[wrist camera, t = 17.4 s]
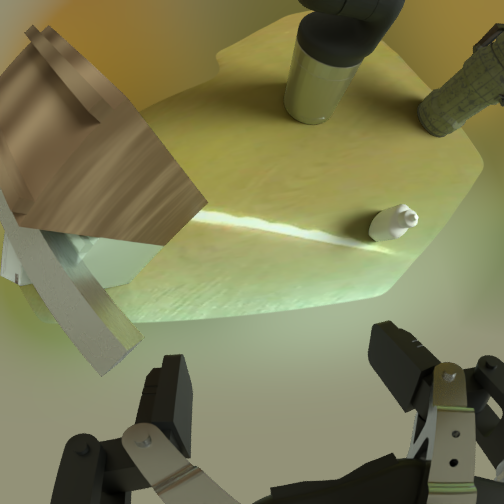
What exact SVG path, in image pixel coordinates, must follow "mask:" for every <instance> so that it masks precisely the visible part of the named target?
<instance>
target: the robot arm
mask: <svg viewBox="0 0 504 504" xmlns="http://www.w3.org/2000/svg"><path fill="white" fill-rule="evenodd" d="M298 1H299V2H300V3H301V4H302V5H303V6H304V7H306V8H308V9H310V10H313V11H315V12H312V13H310V14H308V15H306V16H305V17H304V18H303V19H302V20H301V22H300V24H299V28H298V32H297V37H296V42H295V47H294V52H293V57H292V62H291V66H290V71H289V76H288V81H287V85H286V90H285V95H284V105H285V108H286V110H287V112H288V113H289V114H290V115H291V116H292V117H293V118H294V119H296V120H298V121H300V122H302V123H305V124H320V123H323V122H325V121H327V120H328V119H329V118H330V117H331V115H332V114H333V112H334V110H335V108H336V107H337V105H338V103H339V102H340V100H341V98H342V96H343V95H344V93H345V91H346V89H347V87H348V86H349V84H350V82H351V80H352V79H353V77H354V75H355V73H356V72H357V70H358V68H359V66H360V64H361V63H362V61H363V59H364V57H366V56H368V55H370V54H371V53H372V52H373V51H374V49H375V48H376V46H377V45H378V43H379V42H380V41H381V39H382V38H383V36H384V35H385V34H386V32H387V31H388V29H389V28H390V27H391V25H392V24H393V23H394V21H395V20H396V18H397V17H398V15H399V13H400V11H401V9H402V7H403V5H404V2H405V0H298ZM368 359H369V362H370V364H371V366H372V367H373V369H374V370H375V372H376V373H377V374H378V376H379V377H380V378H381V380H382V381H383V382H384V384H385V385H386V387H387V388H388V389H389V391H390V392H391V393H392V395H393V396H394V398H395V399H396V400H397V401H398V403H399V405H400V406H401V407H402V409H403V410H404V412H405V413H406V412H409V411H411V410H413V409H416V411H417V413H416V416H415V420H414V427H413V433H412V439H411V443H410V448H409V452H408V455H407V457H406V458H402V459H396V457H395V456H394V454H393V453H391V454H388V455H386V456H383V457H381V458H379V459H376V460H373V461H370V462H368V463H365V464H364V465H362V466H361V467H359V468H357V469H356V470H354V471H352V472H351V473H349V474H347V475H346V476H344V477H342V478H340V479H337V480H326V481H303V482H298V483H293V484H288V485H284V486H277V487H271V488H270V489H271V495H269V496H266V497H264V498H262V499H260V500H258V501H256V502H254V503H253V504H504V363H503V362H502V361H501V360H500V359H498V358H497V357H494V356H490V355H487V356H483V357H481V358H480V359H479V360H478V363H477V365H476V367H474V368H469V369H462V368H461V367H460V366H458V365H457V364H455V363H451V362H443V363H441V362H440V361H439V360H438V359H437V358H436V357H435V356H434V355H433V354H432V353H431V352H430V351H429V350H428V349H427V348H426V347H424V346H422V344H421V343H420V342H419V341H417V339H416V338H415V337H414V336H413V335H412V334H411V333H409V332H407V331H405V330H403V329H399V328H398V327H397V326H396V325H394V324H393V323H392V322H391V321H385V322H381V323H377V324H374V325H373V326H372V330H371V337H370V343H369V349H368ZM192 392H193V391H192V384H191V380H190V376H189V373H188V369H187V366H186V362H185V358H184V356H183V354H178V355H165V356H164V358H163V363H162V368H153V369H152V370H151V372H150V373H149V374H148V375H147V376H146V380H145V384H144V388H143V392H142V396H141V400H140V405H139V408H138V413H137V417H136V422H135V425H132V426H131V427H129V428H128V429H127V430H126V431H125V432H124V433H123V436H122V437H121V438H117V439H113V440H107V441H102V442H99V441H98V440H97V439H96V438H95V437H94V436H92V435H90V434H84V433H83V434H78V435H75V436H73V437H72V438H70V439H69V440H68V442H67V443H66V446H65V449H64V452H63V455H62V459H61V462H60V466H59V469H58V473H57V477H56V481H55V485H54V489H53V494H52V499H51V503H50V504H131V491H134V490H139V489H144V488H149V487H153V489H154V490H155V492H156V493H157V495H158V496H159V497H160V498H161V499H162V501H163V502H164V503H165V504H240V503H239V502H238V501H237V500H235V499H234V498H233V497H232V496H230V495H229V494H228V493H227V492H226V491H225V490H223V489H222V488H221V487H220V486H219V485H218V484H216V483H215V482H214V481H213V480H212V479H211V478H210V477H209V476H208V475H207V474H206V473H204V472H203V471H202V470H201V469H200V468H199V467H197V466H193V465H192V464H191V463H190V462H189V461H188V460H187V459H186V458H191V422H192V401H193V393H192ZM490 396H491V397H492V398H493V399H494V400H495V401H496V402H497V403H498V405H499V406H500V407H501V408H502V411H503V416H502V418H501V420H500V419H499V417H498V416H497V415H496V414H495V413H494V411H493V410H492V409H491V408H490V407H489V405H488V404H487V402H488V400H489V398H490ZM476 441H477V443H478V444H479V446H480V447H481V448H482V450H483V452H484V453H485V454H486V456H487V457H488V459H489V460H490V462H491V463H492V465H493V466H494V468H495V469H496V478H495V479H494V480H490V479H485V478H481V477H477V476H474V470H475V444H476V443H475V442H476Z"/></svg>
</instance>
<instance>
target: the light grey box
mask: <svg viewBox="0 0 504 504" xmlns="http://www.w3.org/2000/svg"><path fill="white" fill-rule="evenodd" d="M64 234H65V236H66V237H67V239H68V240H69V242H70V243H71V245H72V246H73V248H74V249H75V251H76V252H77V254H78V255H79V257H80V258H81V259H82V261H83V262H84V264H85V265H86V266H87V268H88V269H89V270H90V272H91V273H92V274H93V276H94V277H95V278H96V280H97V281H98V282H99V284H100V285H101V286H102V287H103V289H105V288H109V287H114V286H119V285H123V284H128V283H130V282H131V281H132V280H133V279H134V277H135V276H136V275H137V274H138V273H139V272H140V271H141V270H142V269H143V268H144V267H145V266H146V265H147V264H148V262H149V261H150V260H151V259H152V258H153V257H154V256H155V255H156V254H157V253H158V252H159V251H160V250H161V249H162V248H163V247H164V246H160V245H152V244H144V243H137V242H129V241H123V240H114V239H108V238H99V237H91V236H84V235H76V234H69V233H64Z"/></svg>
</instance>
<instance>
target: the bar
mask: <svg viewBox="0 0 504 504" xmlns="http://www.w3.org/2000/svg"><path fill="white" fill-rule="evenodd" d="M0 221H1V223H2V226H3V228H4V230H5V232H6V234H7V236H8V239H9V241H10V243H11V245H12V247H13V249H14V251H15V253H16V255H17V257H18V259H19V260H20V262H21V264H22V266H23V268H24V270H25V271H26V273H27V275H28V277H29V278H30V280H31V282H32V284H33V285H34V287H35V288H36V290H37V292H38V293H39V295H40V297H41V298H42V300H43V301H44V303H45V304H46V306H47V307H48V309H49V310H50V312H51V313H52V315H53V316H54V318H55V319H56V321H57V322H58V323H59V325H60V326H61V328H62V329H63V330H64V332H65V333H66V334H67V335H68V337H69V338H70V339H71V341H72V342H73V343H74V345H75V346H76V347H77V348H78V350H79V351H80V352H81V353H82V355H83V356H84V357H85V358H86V360H87V361H88V362H89V363H90V364H91V365H92V367H93V368H94V369H95V370H96V371H97V372H98V373H99V375H100V376H101V377H102V376H103V375H105V374H106V373H107V372H108V371H110V370H111V369H112V368H113V367H115V366H116V365H117V364H118V363H120V362H121V361H122V360H123V359H124V358H125V357H126V356H127V355H128V354H129V353H130V352H131V351H132V350H133V349H134V348H135V347H136V346H137V345H138V344H139V343H140V342H141V341H142V340H143V339H144V338H145V337H144V336H143V335H142V334H141V333H140V332H139V330H138V329H137V328H136V327H135V326H134V325H133V324H132V323H131V321H130V320H129V319H128V318H127V317H126V316H125V314H124V313H123V312H122V311H121V310H120V309H119V307H118V306H117V305H116V304H115V302H114V301H113V300H112V299H111V298H110V296H109V295H108V294H107V293H106V291H105V290H104V289H103V287H102V286H101V285H100V284H99V282H98V281H97V280H96V278H95V277H94V276H93V274H92V273H91V272H90V270H89V269H88V268H87V266H86V265H85V264H84V262H83V261H82V259H81V258H80V257H79V255H78V254H77V252H76V251H75V249H74V248H73V246H72V245H71V243H70V242H69V240H68V239H67V237H66V236H65V234H64V233H62V232H54V231H47V230H40V229H32V228H25V227H19V226H18V224H17V222H16V219H15V217H14V215H13V213H12V211H10V209H9V206H8V204H7V202H6V200H5V197H4V195H3V193H2V190H1V188H0Z"/></svg>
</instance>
